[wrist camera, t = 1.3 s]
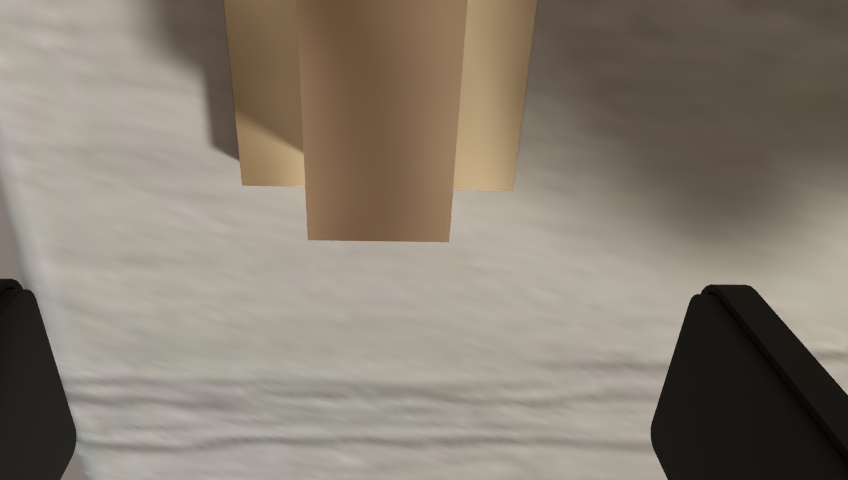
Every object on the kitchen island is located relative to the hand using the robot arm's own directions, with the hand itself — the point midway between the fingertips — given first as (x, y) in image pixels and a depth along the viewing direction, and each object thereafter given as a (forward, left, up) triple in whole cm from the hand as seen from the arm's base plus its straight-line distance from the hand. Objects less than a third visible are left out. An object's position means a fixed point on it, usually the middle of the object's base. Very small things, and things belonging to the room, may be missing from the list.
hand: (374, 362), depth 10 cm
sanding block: (0, 0, -17) cm, 17 cm away
